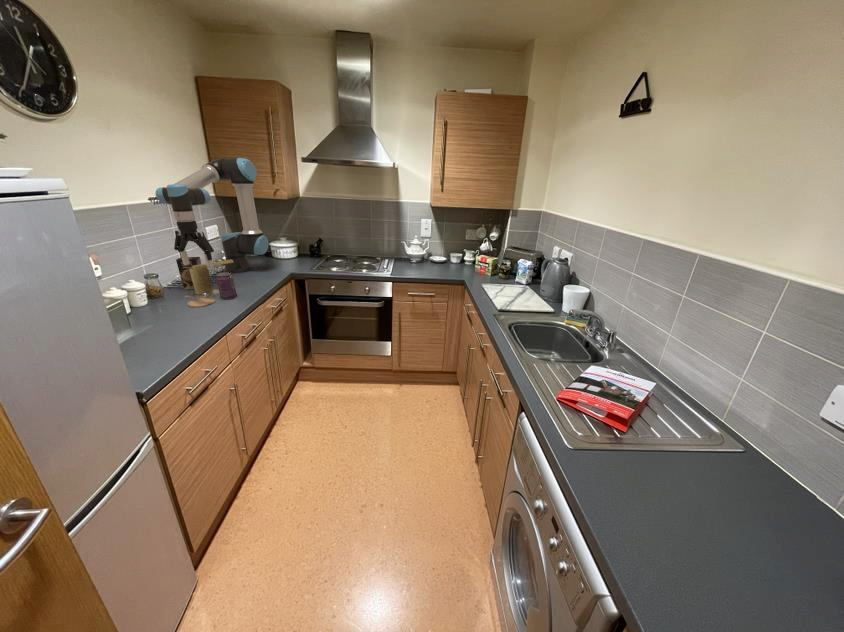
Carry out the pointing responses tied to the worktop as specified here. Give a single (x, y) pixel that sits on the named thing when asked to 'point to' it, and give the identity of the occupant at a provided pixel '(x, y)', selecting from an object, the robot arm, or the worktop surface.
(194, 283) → the turnkey
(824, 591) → the worktop surface
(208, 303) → the coaster
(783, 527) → the worktop surface
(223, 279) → the purple glass
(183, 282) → the coffee box
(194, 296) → the key plate
